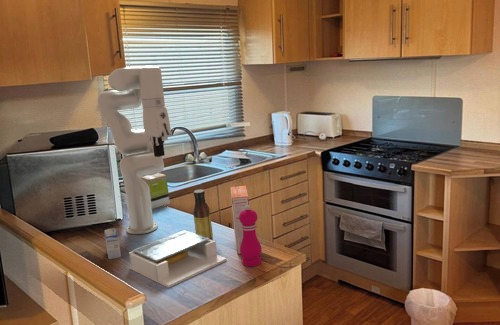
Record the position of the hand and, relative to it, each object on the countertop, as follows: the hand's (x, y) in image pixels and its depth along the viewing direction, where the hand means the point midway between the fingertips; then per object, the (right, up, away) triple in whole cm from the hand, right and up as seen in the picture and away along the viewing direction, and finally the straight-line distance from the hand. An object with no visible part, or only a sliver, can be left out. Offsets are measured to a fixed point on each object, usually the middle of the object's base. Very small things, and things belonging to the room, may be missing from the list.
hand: (159, 155), depth 166 cm
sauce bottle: (+14, -32, +14) cm, 38 cm away
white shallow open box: (+7, -37, -5) cm, 38 cm away
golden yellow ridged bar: (+5, -36, -4) cm, 36 cm away
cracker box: (+29, -33, +6) cm, 44 cm away
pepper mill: (+32, -36, -8) cm, 49 cm away
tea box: (-16, -23, +66) cm, 72 cm away
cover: (+5, -30, -5) cm, 31 cm away
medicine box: (-18, -36, +7) cm, 41 cm away
